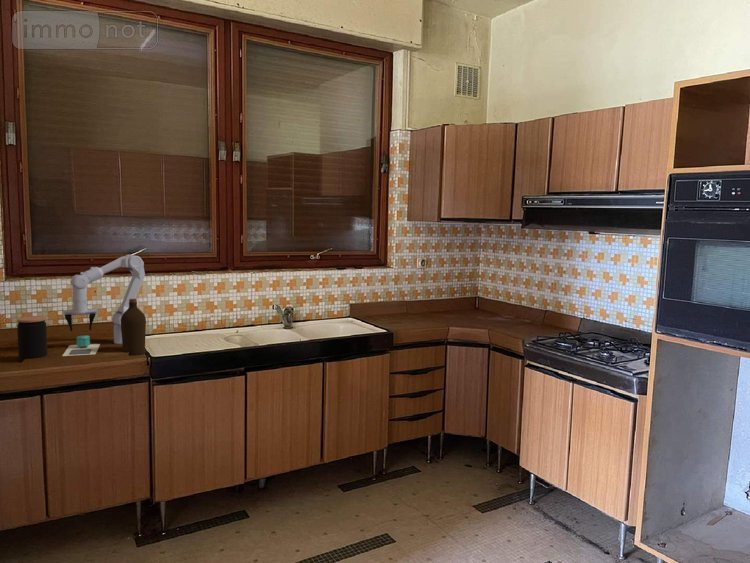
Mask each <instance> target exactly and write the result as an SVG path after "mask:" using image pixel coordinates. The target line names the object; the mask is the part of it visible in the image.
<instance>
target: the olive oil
mask: <svg viewBox="0 0 750 563" xmlns="http://www.w3.org/2000/svg"><path fill="white" fill-rule="evenodd" d="M137 301H138V299H137V298H136V299H129V308H128V309H127V310H126V311H125V312H124V313H123V315H122V317H121V332H122V344H121V346H122V352H124V353H128V356H139V355H143V354H145V353H146V332H147V331H146V330H147V318H146V315H145V314H144V312H143V311H142V310H141V309H139V308H138V302H137Z"/></svg>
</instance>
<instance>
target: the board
mask: <svg viewBox="0 0 750 563" xmlns="http://www.w3.org/2000/svg"><path fill="white" fill-rule="evenodd" d="M100 345H101V343H92V344H91V343H90V345H88V346H87V347H86V348H80V346H77V344H71V345H70V344H69V345H68V347H67V348H66V350H65V351H64V353H63V354H62V357H67V356H70V357H71V356H73V357H75V356H87V355H88V356H89V355H91V356H92V355H96V354H97V352H98V350H99V348H100ZM78 349H92V350H91V352H90V354H76V355H69V353H70V352H71V350H78Z"/></svg>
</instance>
